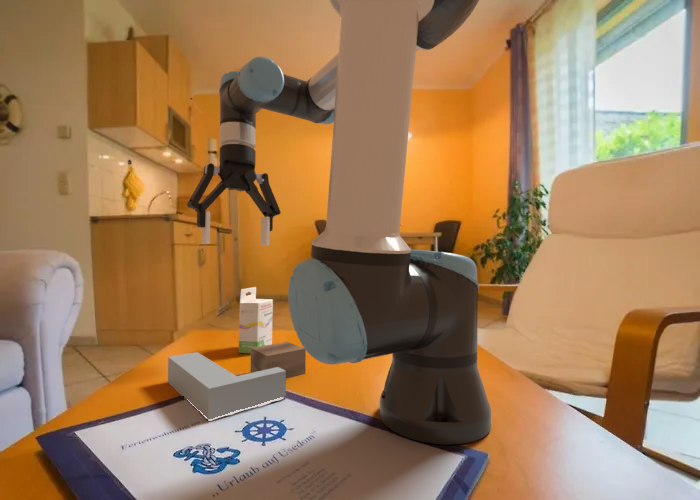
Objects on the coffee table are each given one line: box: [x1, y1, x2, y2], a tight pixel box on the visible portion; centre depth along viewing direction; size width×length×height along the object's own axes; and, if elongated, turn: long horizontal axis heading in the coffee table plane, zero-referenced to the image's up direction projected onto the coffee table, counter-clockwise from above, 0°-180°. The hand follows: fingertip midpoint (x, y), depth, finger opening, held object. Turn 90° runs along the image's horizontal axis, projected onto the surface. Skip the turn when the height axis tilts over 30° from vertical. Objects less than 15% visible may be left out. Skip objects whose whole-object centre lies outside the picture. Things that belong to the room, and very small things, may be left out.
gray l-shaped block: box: [167, 351, 287, 419], centre depth 61 cm, size 20×12×4 cm, turn 41°
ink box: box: [238, 286, 274, 355], centre depth 88 cm, size 9×5×15 cm, turn 168°
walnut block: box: [250, 341, 307, 379], centre depth 70 cm, size 7×8×5 cm
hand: (237, 244), depth 79 cm, fingers open, 13 cm apart
